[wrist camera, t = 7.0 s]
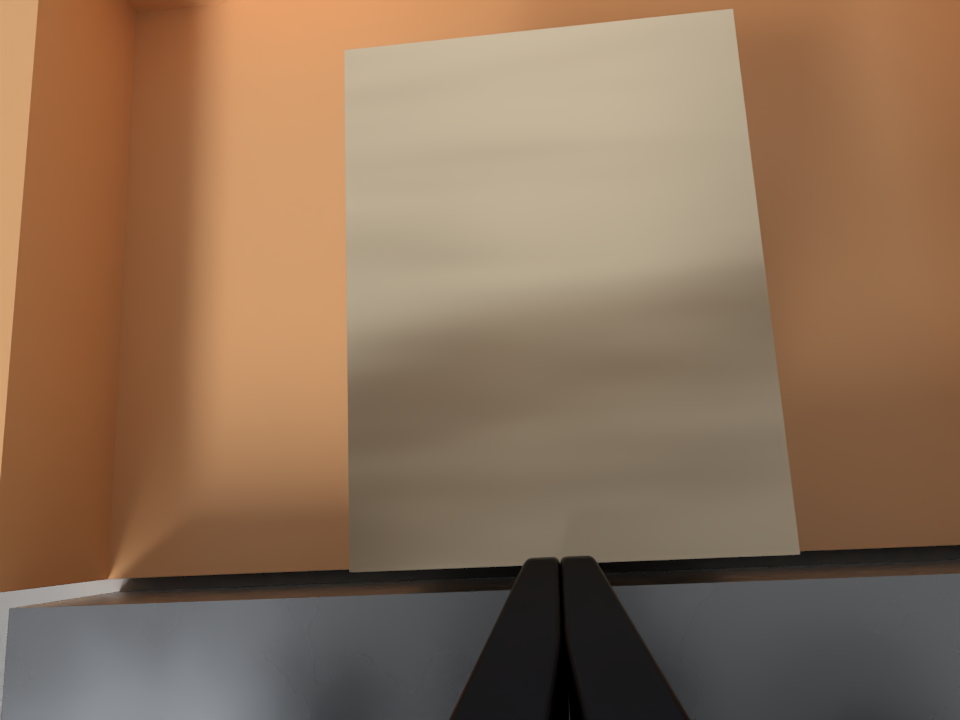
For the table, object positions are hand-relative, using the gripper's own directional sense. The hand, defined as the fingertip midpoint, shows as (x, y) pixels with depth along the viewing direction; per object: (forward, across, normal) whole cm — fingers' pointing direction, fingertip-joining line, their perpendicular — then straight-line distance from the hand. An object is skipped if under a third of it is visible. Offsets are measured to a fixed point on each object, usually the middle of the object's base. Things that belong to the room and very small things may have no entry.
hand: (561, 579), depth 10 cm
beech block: (+3, 0, +2) cm, 4 cm away
